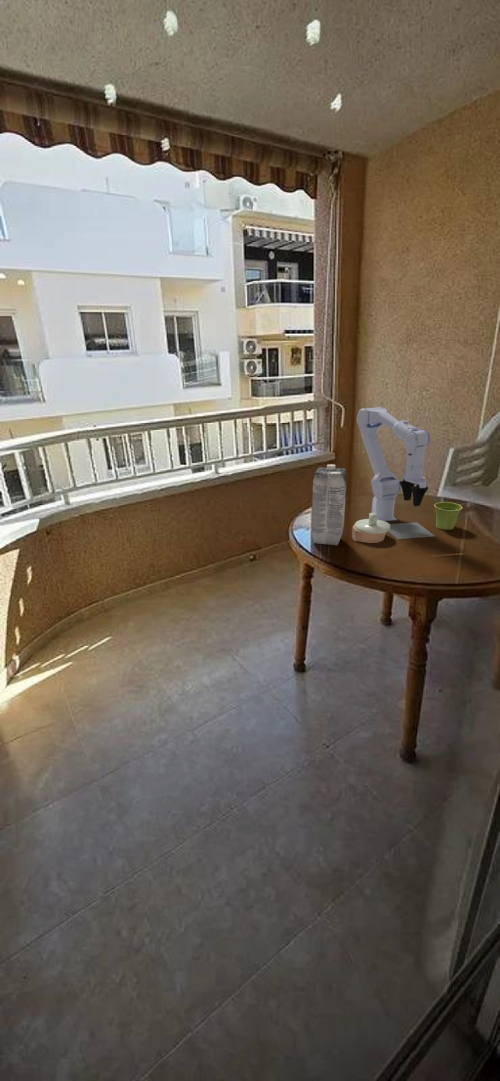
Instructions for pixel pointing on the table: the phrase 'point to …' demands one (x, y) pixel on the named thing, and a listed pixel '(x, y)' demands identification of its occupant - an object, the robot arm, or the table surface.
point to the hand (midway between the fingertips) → (411, 503)
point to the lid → (372, 525)
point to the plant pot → (446, 514)
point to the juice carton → (328, 505)
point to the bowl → (366, 536)
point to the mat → (409, 531)
